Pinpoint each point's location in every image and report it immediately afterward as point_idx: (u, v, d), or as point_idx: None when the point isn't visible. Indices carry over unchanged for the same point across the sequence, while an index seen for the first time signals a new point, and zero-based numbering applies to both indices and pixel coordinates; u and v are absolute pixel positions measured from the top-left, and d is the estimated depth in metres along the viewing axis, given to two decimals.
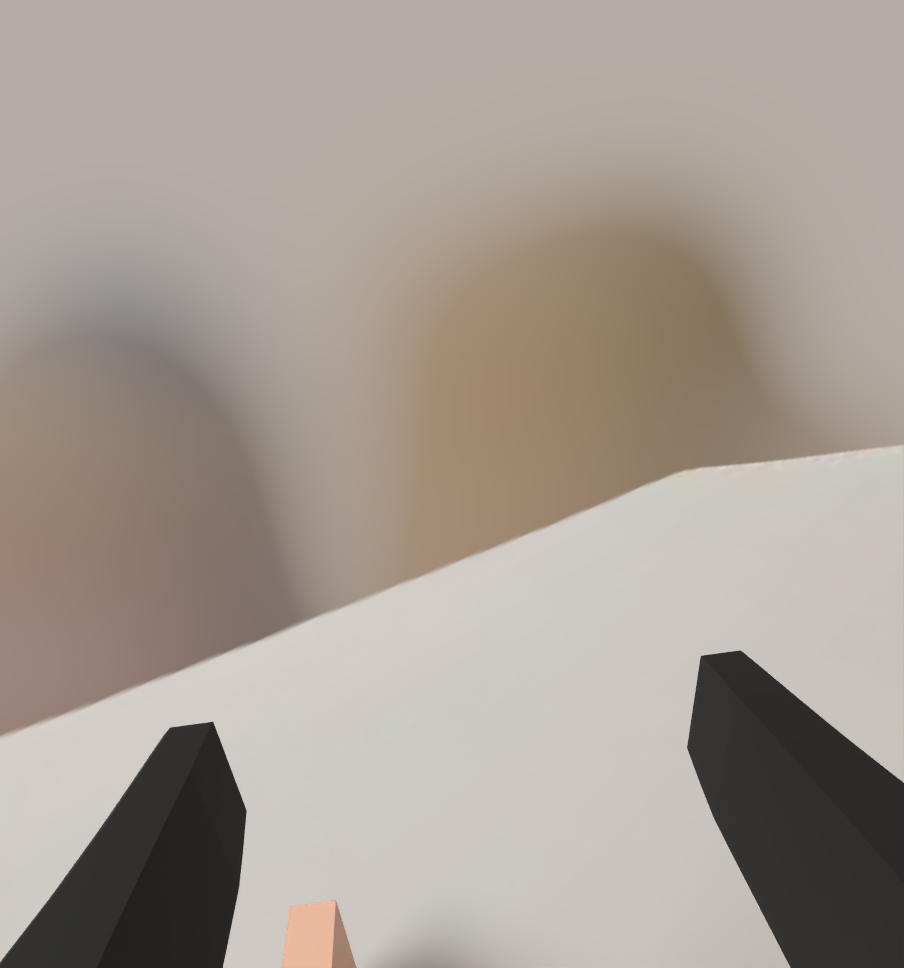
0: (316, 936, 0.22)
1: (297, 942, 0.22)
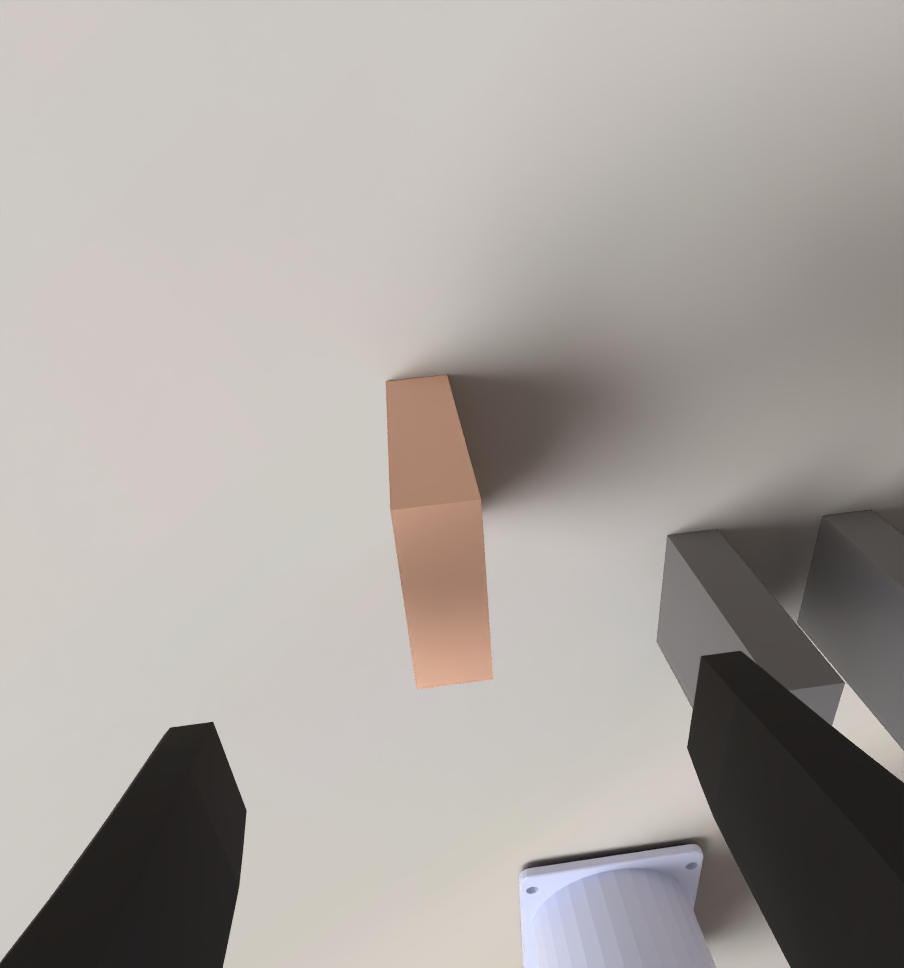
0: (453, 554, 0.12)
1: (420, 562, 0.12)
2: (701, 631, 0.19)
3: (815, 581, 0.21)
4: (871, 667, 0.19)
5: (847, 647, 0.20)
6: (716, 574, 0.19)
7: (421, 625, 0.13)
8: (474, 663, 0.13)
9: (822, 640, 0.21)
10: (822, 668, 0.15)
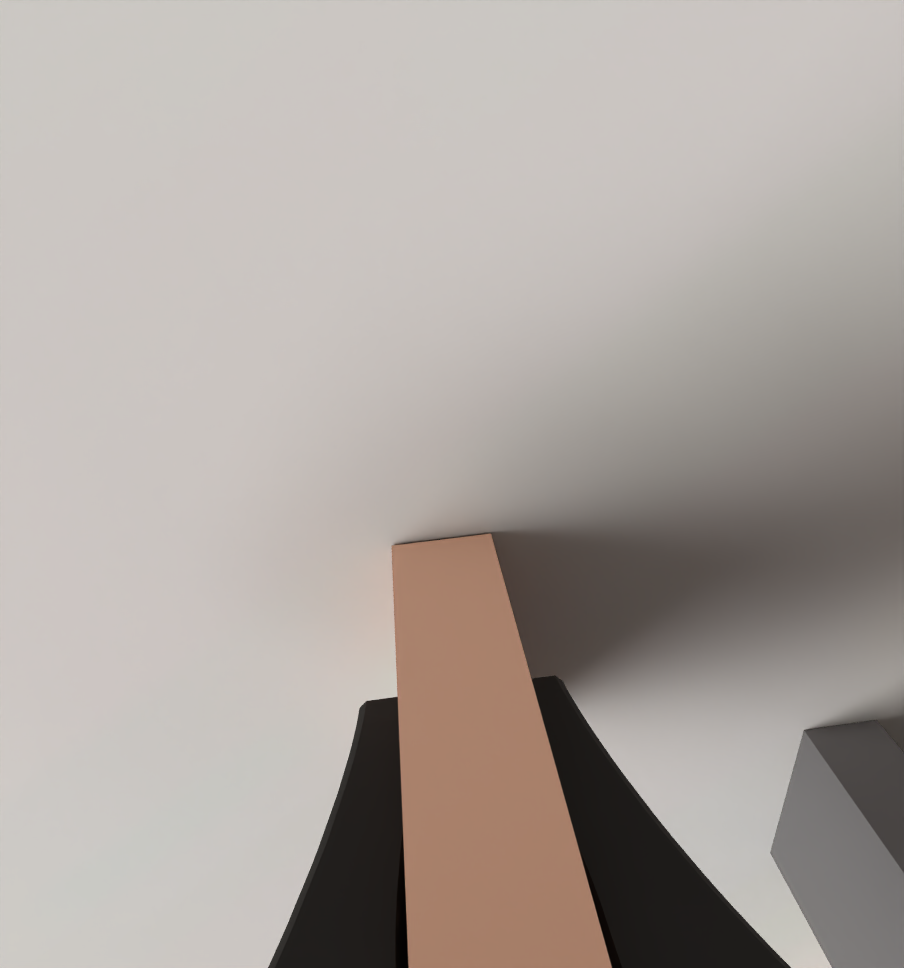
0: None
1: None
2: (876, 906, 0.12)
3: None
4: None
5: None
6: (900, 818, 0.12)
7: None
8: None
9: None
10: None
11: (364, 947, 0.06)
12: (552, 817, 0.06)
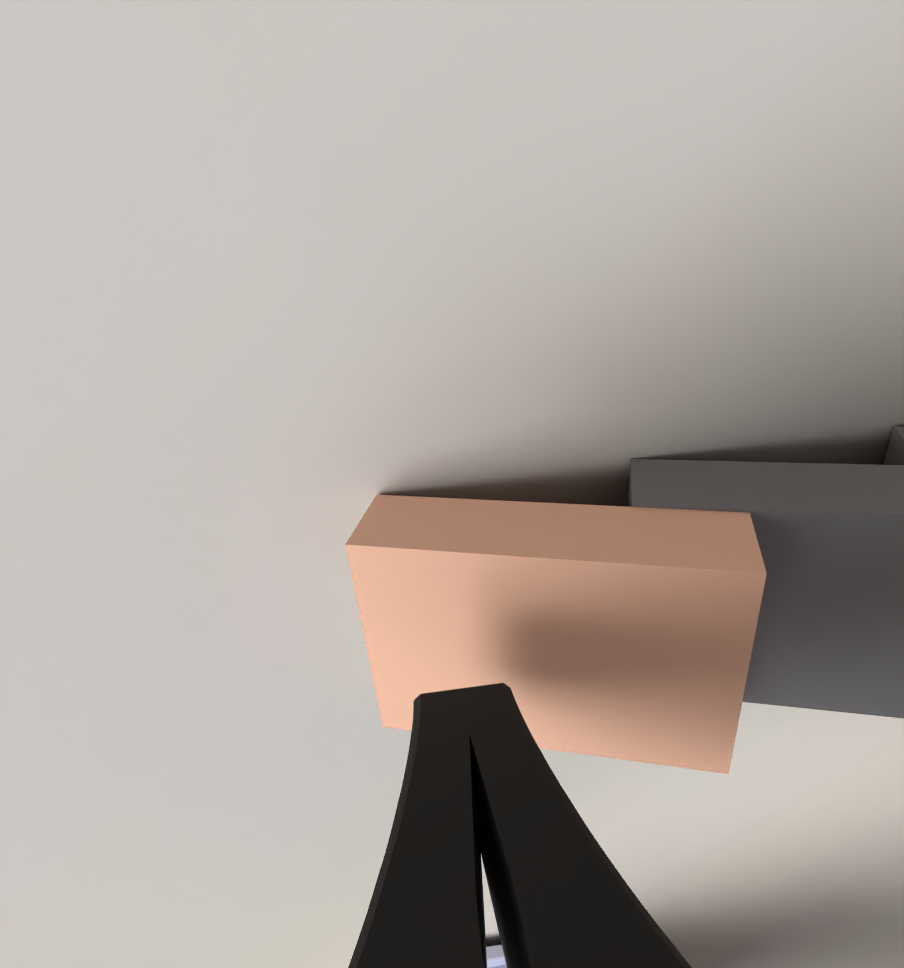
0: None
1: None
2: (802, 580, 0.11)
3: None
4: None
5: None
6: (761, 489, 0.11)
7: (739, 693, 0.11)
8: None
9: None
10: None
11: (448, 934, 0.06)
12: (652, 513, 0.11)
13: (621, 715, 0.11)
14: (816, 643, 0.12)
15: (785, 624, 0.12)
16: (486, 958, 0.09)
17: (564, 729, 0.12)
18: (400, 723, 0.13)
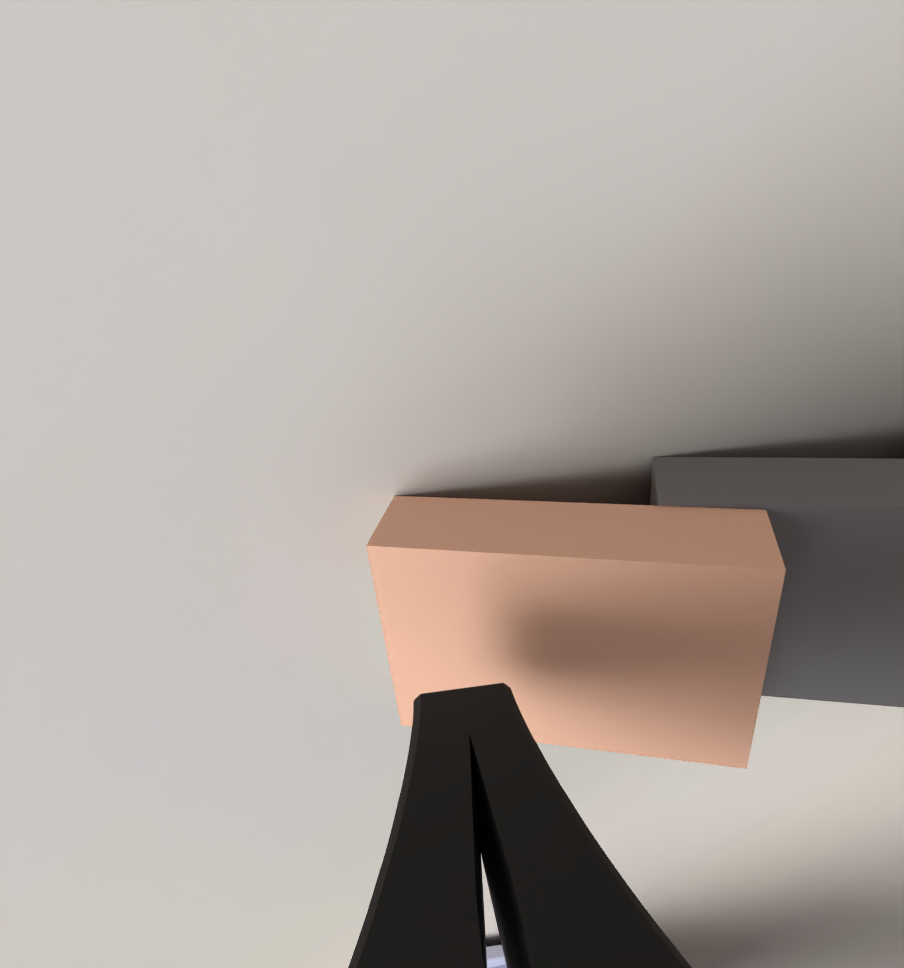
0: None
1: None
2: (827, 573, 0.11)
3: None
4: None
5: None
6: (785, 485, 0.11)
7: (757, 688, 0.11)
8: None
9: None
10: None
11: (448, 934, 0.06)
12: (669, 511, 0.11)
13: (640, 711, 0.11)
14: (841, 636, 0.12)
15: (810, 618, 0.12)
16: (486, 958, 0.09)
17: (583, 726, 0.12)
18: None
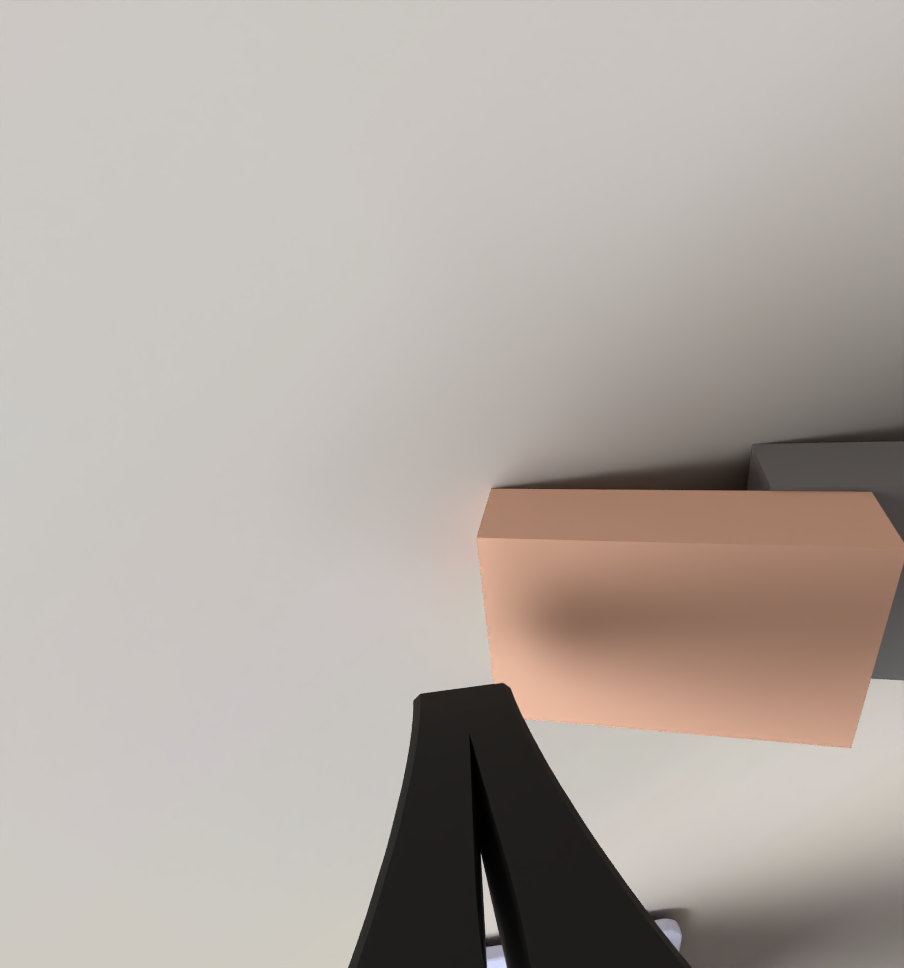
0: None
1: None
2: None
3: None
4: None
5: None
6: (895, 468, 0.11)
7: (865, 668, 0.11)
8: None
9: None
10: None
11: (448, 934, 0.06)
12: (774, 495, 0.11)
13: (746, 695, 0.12)
14: None
15: None
16: (486, 958, 0.09)
17: (685, 711, 0.12)
18: None
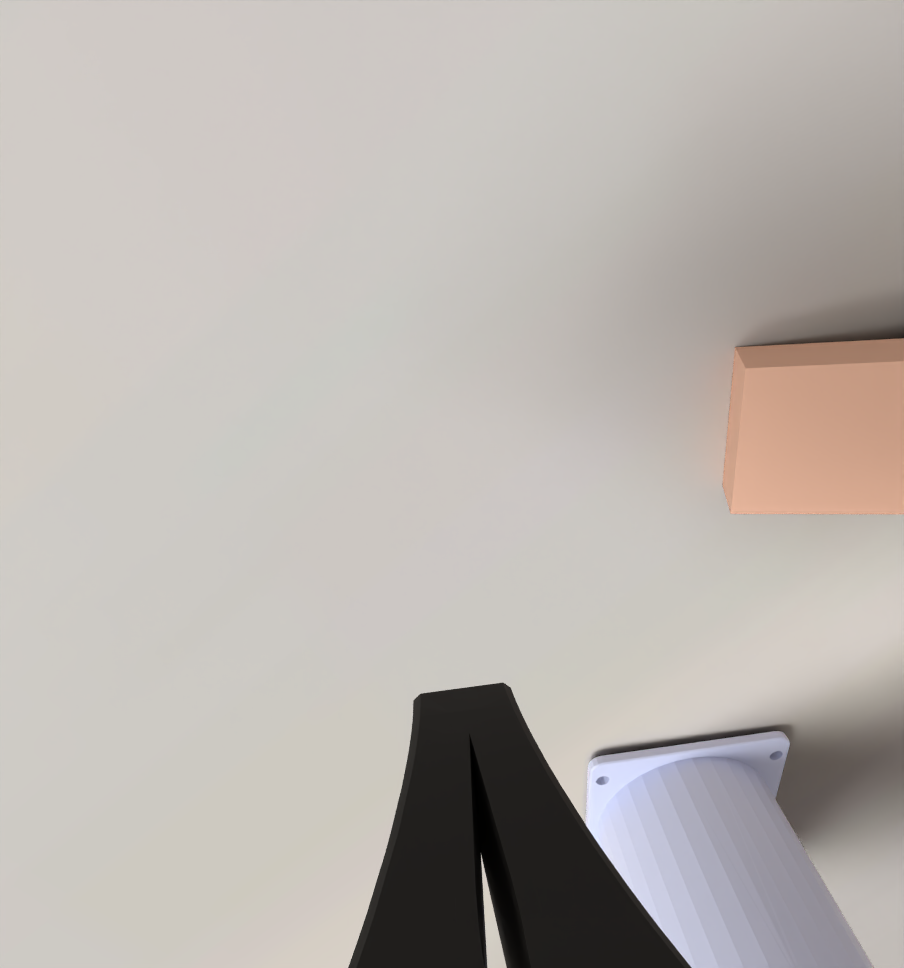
0: None
1: None
2: None
3: None
4: None
5: None
6: None
7: None
8: None
9: None
10: None
11: (448, 934, 0.06)
12: None
13: None
14: None
15: None
16: (486, 958, 0.09)
17: (874, 495, 0.18)
18: (746, 508, 0.19)
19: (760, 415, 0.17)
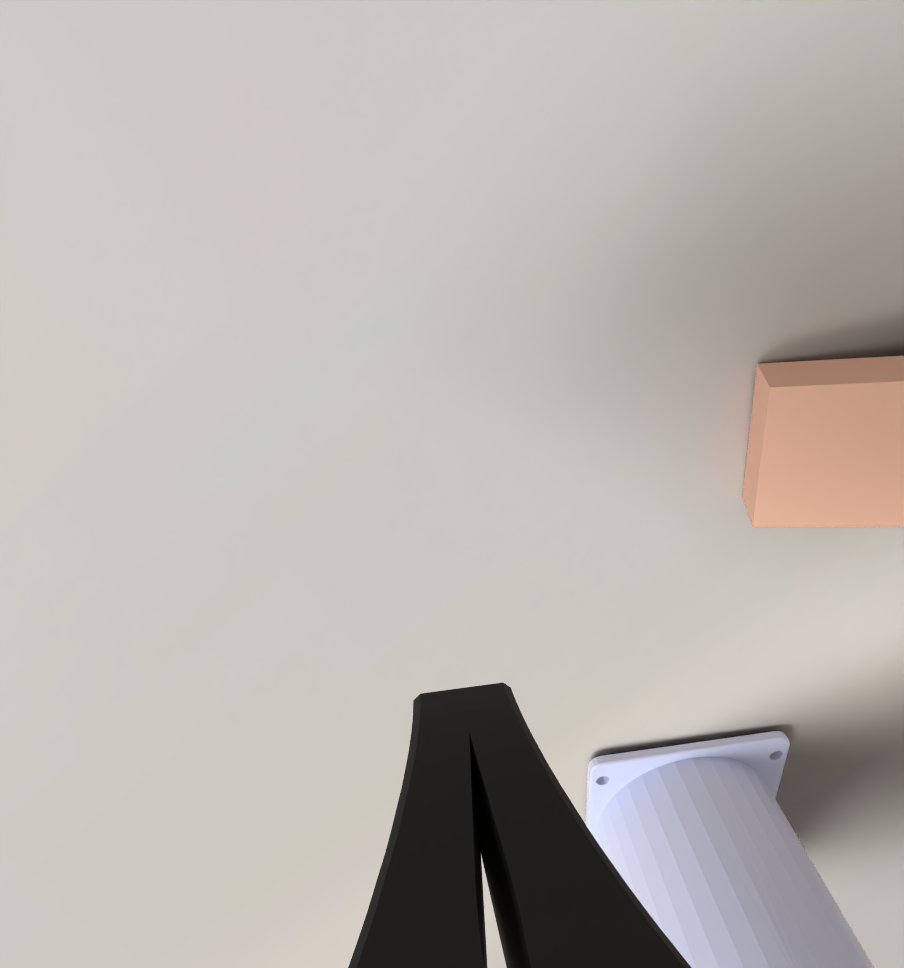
0: None
1: None
2: None
3: None
4: None
5: None
6: None
7: None
8: None
9: None
10: None
11: (448, 934, 0.06)
12: None
13: None
14: None
15: None
16: (486, 958, 0.09)
17: (894, 508, 0.18)
18: (768, 522, 0.19)
19: (783, 432, 0.17)
